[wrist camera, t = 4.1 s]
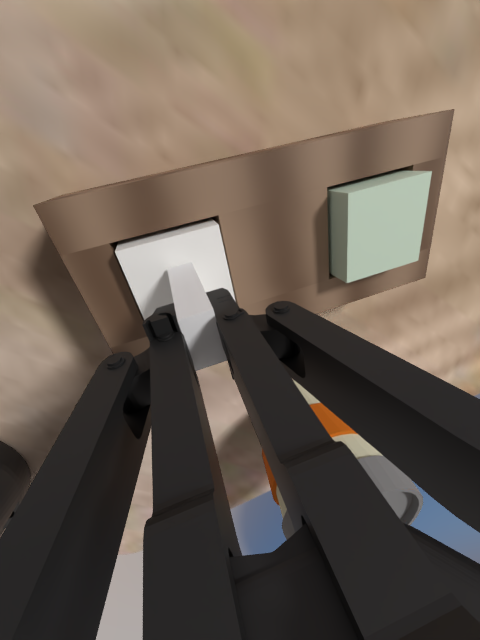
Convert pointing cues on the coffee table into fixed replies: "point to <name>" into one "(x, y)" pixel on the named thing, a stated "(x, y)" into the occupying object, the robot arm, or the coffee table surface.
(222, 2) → the coffee table surface
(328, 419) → the reusable coffee cup
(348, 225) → the sage key
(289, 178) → the key panel
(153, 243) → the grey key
